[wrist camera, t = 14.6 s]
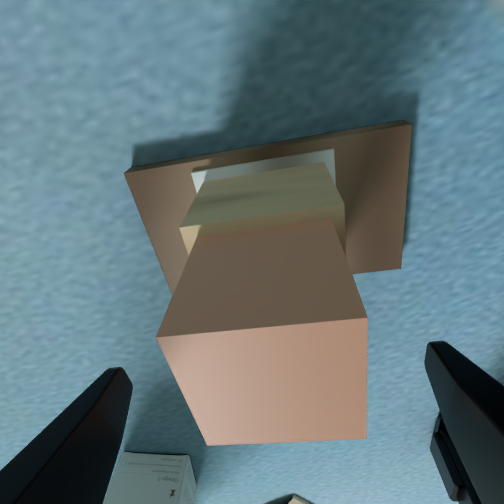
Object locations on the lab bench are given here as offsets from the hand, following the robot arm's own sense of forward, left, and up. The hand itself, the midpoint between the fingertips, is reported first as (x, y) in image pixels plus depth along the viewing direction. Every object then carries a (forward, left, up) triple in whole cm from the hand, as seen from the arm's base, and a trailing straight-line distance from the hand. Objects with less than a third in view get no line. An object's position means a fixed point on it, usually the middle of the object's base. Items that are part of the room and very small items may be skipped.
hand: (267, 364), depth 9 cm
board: (0, 0, -10) cm, 10 cm away
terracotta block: (0, 0, -4) cm, 4 cm away
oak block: (0, 0, -9) cm, 9 cm away
